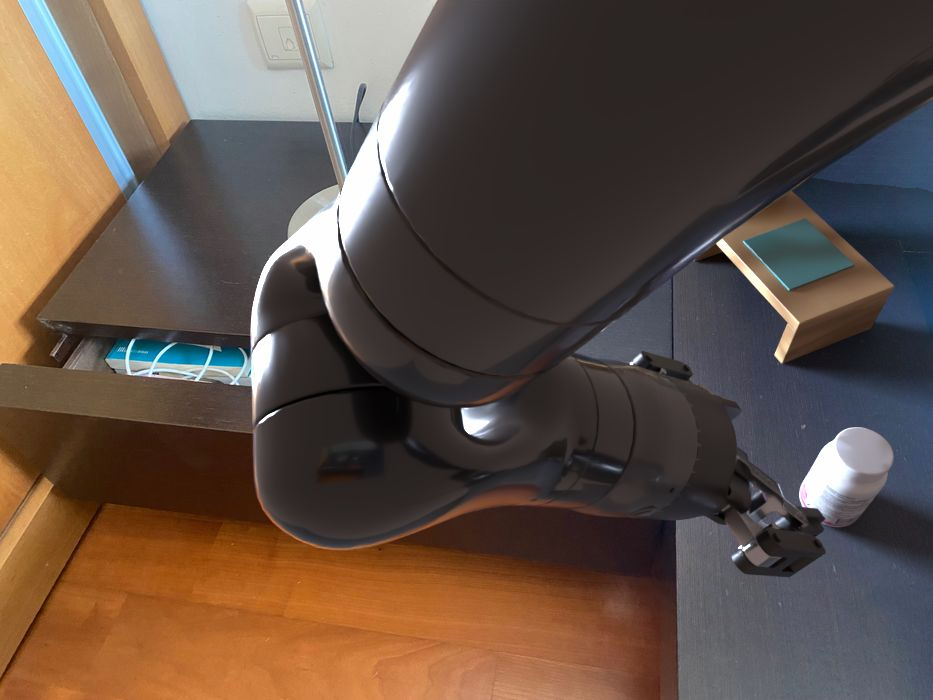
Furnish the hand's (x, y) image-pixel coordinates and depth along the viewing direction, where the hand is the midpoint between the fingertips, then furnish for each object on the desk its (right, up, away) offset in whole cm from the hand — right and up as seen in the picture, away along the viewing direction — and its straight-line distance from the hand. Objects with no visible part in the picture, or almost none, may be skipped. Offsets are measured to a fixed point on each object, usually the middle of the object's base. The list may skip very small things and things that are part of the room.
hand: (767, 467), depth 47 cm
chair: (+12, +14, +26) cm, 32 cm away
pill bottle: (+10, -5, +12) cm, 16 cm away
